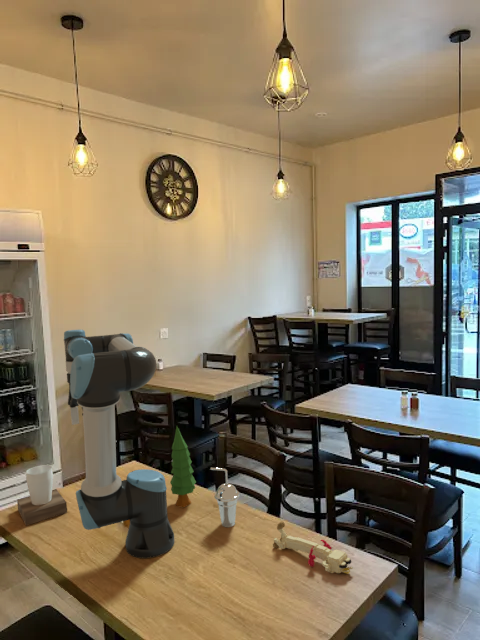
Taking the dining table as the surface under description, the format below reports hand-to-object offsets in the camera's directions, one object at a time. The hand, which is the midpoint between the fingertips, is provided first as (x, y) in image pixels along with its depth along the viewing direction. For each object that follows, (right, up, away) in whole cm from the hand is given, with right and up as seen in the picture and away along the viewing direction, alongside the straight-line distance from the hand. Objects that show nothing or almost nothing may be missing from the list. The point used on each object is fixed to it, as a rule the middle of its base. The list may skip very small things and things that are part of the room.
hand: (81, 427), depth 176 cm
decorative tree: (+38, -28, 0) cm, 48 cm away
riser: (-14, -30, -2) cm, 33 cm away
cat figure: (+80, -30, -38) cm, 94 cm away
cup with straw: (+55, -29, -16) cm, 64 cm away
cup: (-14, -27, -3) cm, 30 cm away
